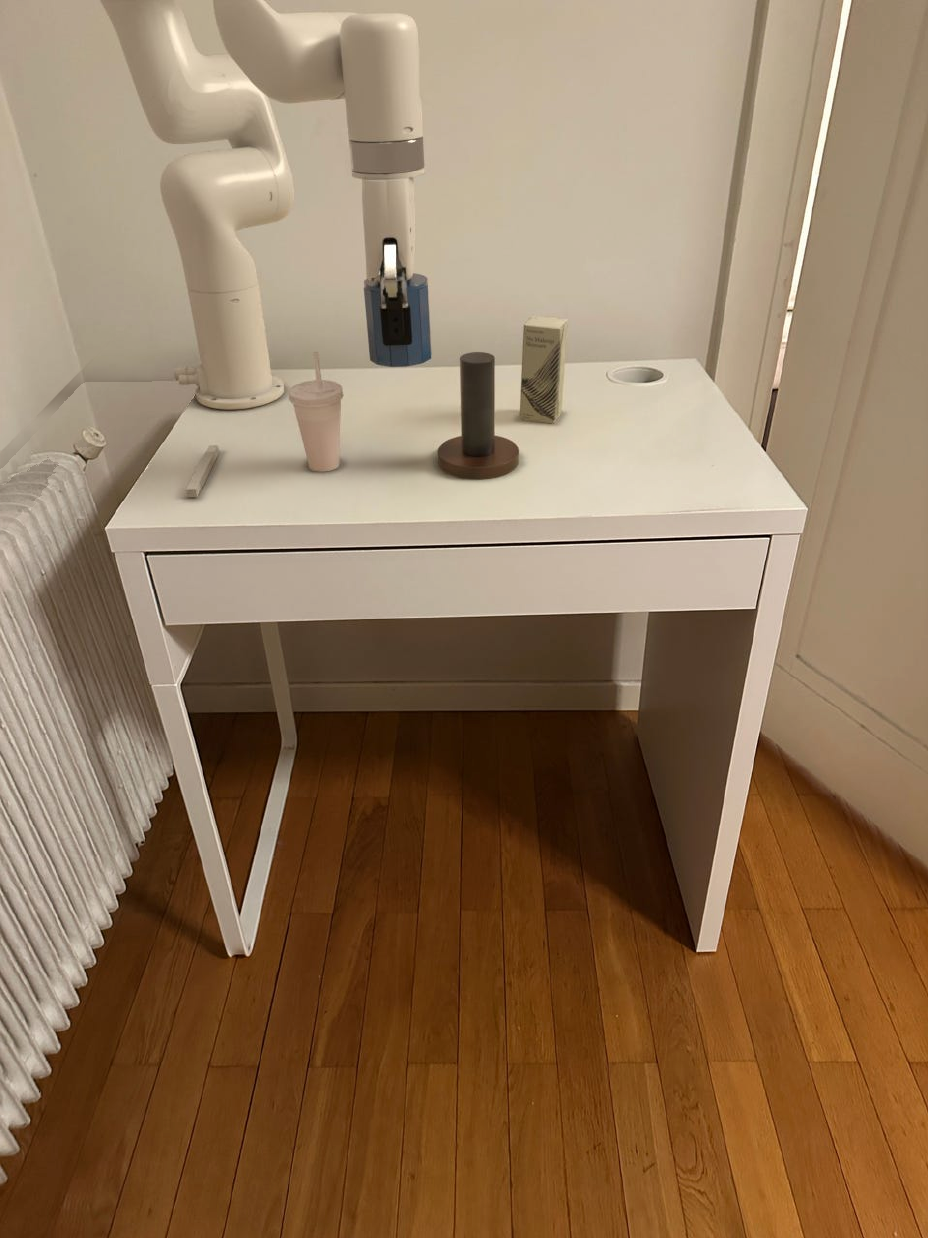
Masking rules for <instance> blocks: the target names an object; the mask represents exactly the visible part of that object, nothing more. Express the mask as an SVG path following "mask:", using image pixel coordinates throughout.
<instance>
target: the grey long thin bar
mask: <svg viewBox="0 0 928 1238" xmlns="http://www.w3.org/2000/svg"><path fill="white" fill-rule="evenodd" d="M219 454H220V449H219V445H218V444H211V445H208V446H207V448H206V450H205V452H204V454H203V456H202V458H201V460H200V462H199V463H198V466H196V467H197V468H196V469H195V471H194V473H193V475H192V477H191V479H190V481H189V483H188V484H187V486H186V489H185V492H186V497H187V498H198V497H199V495H200V493H201V491H202V489H203V487H204V484H205V482H206V481H207V478H208V477H209V474H210V473H211V471H212V468H213V466H214V464H215V462H216V461H217V458H218V456H219Z"/></svg>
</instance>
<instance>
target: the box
mask: <svg viewBox="0 0 928 1238" xmlns="http://www.w3.org/2000/svg"><path fill="white" fill-rule="evenodd" d="M568 326H569V320H568V319H566V318H558V317H549V316H537V315H531V316H530V317H529V318H528V319H527V320H526V321H525V322H524V324H523V330H522V349H521V350H522V351H521V353H522V354H521V376H520V400H519V419H520V420H522V421H523V420H524V421H532V422H537V423H539V422H540V423H544V424H545V423H547V424H555V422H557V420H558V419H559V418H560V416H561V414H562V409H563V395H564V394H563V393H564V382H565V381H564V380H565V366H566V354H567V353H566V352H567V340H568V338H567V337H568V328H569V327H568Z"/></svg>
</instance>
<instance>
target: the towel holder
mask: <svg viewBox="0 0 928 1238" xmlns="http://www.w3.org/2000/svg"><path fill="white" fill-rule="evenodd" d="M495 364H496V361H495V356H494V355H493V354H492V353H489V352H485V351H483V352H482V351H471V352H466V353H464V354H462V355H460V356H459V373H460V374H459V382H460V424H461V427H460V430H461V433H460V434H461V435H460V436H456V437H452V438H450V439H447V440H445V441H444V442H443V443H441V444H440V445H439V446H438V448H437V465H438V468H440V469H441V471H443V472H444V473H445V474H448V475H450V476H453V477H456V478H461V479H466V480H467V479H468V480H488V479H494V478H498V477H503V476H505V475H508V474H510V473H512V472H513V471H515V469H517V468H518V466H519V464H520V449H519V446H518V445H517V443H516V442H514V441H513V440H510V439H508V438H506V437H503V436H499V435H495V434H496V433H495V429H496V427H495V426H496V425H495V421H496V419H495V418H496V416H495V411H496V410H495V408H496V407H495V406H496V405H495V404H496V403H495V402H496V401H495V398H496V397H495V394H496V393H495V391H496V390H495V388H496V387H495V385H496V384H495V377H496V376H495V375H496V374H495V373H496V371H495V369H496V365H495Z"/></svg>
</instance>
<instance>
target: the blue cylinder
mask: <svg viewBox="0 0 928 1238" xmlns="http://www.w3.org/2000/svg"><path fill="white" fill-rule="evenodd" d="M397 276H403V275H402V273H397ZM398 286H400V287H401V289H402V286H401V285H398ZM363 296H364V306H365V319H366V331H367V342H368V352H369V353H368V354H369V361H370V362H371V363H372V364H373V363H374V364H375V365H377V366H381V367H388V368H405V367H406V368H407V367H412V366H416V365H422V364H425V363H426V362H428V361H430V360H432V357H433V356H432V355H433V353H432V351H433V350H432V332H431V313H430V291H429V279H428V277H427V276H426V275H423V274H420V273H415V272H413V276H412V277H411V278H410V279H409V280H408V281H407V303H408V306H410V311H411V328H412V343H411V344H410V345H392V346H385V345H384V344H383V339H382V326H381V314H380V307H382V306H381V284H380V274H378V278H374V281H373V282H370V281H369V280H368V279H367V278H366V279H364V281H363Z"/></svg>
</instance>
